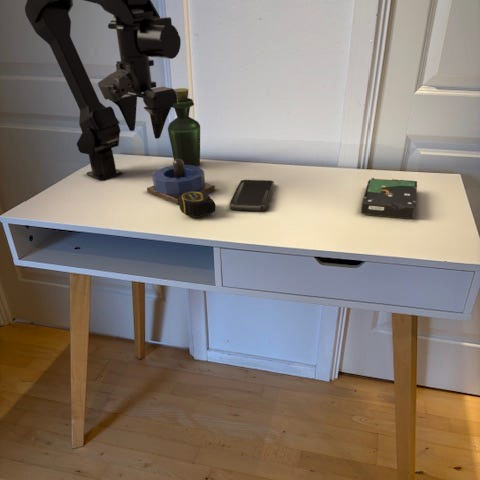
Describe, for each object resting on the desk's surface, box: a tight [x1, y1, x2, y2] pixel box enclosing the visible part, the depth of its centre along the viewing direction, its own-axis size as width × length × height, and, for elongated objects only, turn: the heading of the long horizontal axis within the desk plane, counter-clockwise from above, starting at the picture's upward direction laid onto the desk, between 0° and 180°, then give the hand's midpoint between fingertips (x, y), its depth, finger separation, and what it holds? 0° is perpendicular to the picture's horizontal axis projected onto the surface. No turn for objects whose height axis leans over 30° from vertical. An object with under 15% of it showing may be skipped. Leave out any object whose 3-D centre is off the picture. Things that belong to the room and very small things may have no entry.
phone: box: [229, 179, 275, 212], centre depth 108 cm, size 8×1×15 cm
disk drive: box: [360, 177, 418, 219], centre depth 102 cm, size 10×3×15 cm
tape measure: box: [178, 191, 217, 218], centre depth 101 cm, size 7×7×4 cm
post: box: [146, 159, 216, 206], centre depth 110 cm, size 11×11×8 cm
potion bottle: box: [167, 87, 201, 167], centre depth 122 cm, size 8×8×18 cm
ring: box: [151, 165, 206, 195], centre depth 111 cm, size 11×11×3 cm
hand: (144, 134), depth 109 cm, fingers open, 9 cm apart
